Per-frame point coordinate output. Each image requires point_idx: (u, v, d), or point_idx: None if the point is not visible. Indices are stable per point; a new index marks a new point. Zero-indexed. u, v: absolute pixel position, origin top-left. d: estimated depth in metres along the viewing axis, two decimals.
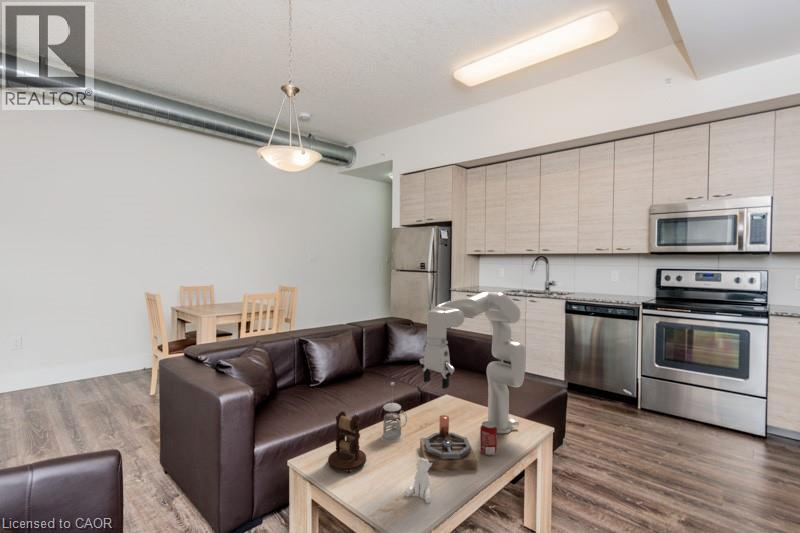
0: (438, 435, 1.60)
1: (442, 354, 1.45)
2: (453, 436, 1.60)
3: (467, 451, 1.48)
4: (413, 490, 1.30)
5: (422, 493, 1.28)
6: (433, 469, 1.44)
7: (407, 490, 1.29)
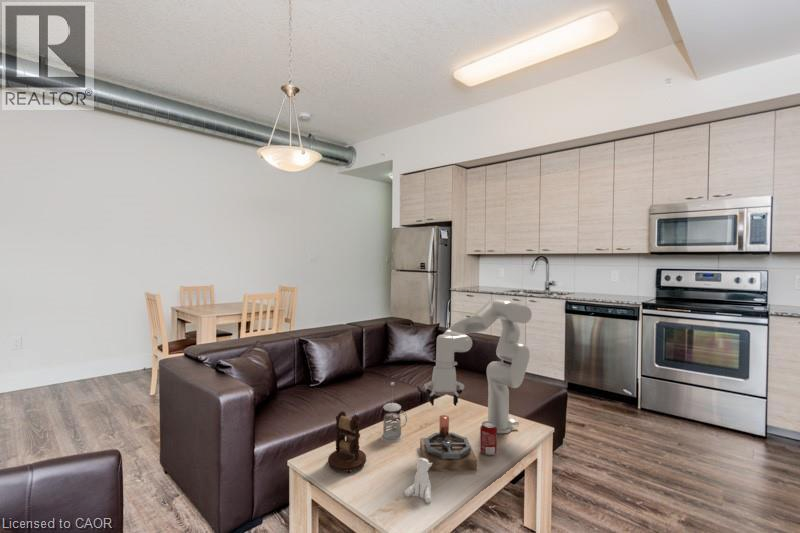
0: (438, 435, 1.60)
1: (455, 375, 1.59)
2: (453, 436, 1.60)
3: (467, 451, 1.48)
4: (413, 490, 1.30)
5: (422, 493, 1.28)
6: (433, 469, 1.44)
7: (407, 490, 1.29)
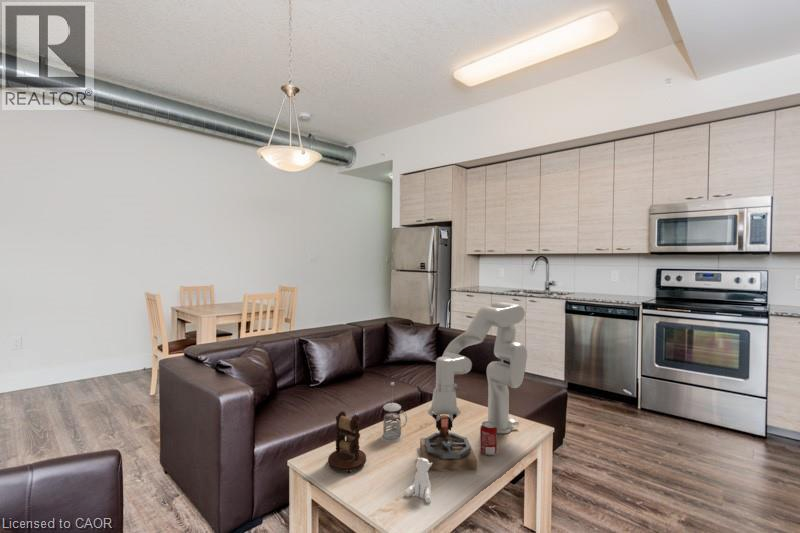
0: (438, 435, 1.60)
1: (455, 397, 1.59)
2: (453, 436, 1.60)
3: (467, 451, 1.48)
4: (413, 490, 1.30)
5: (422, 493, 1.28)
6: (433, 469, 1.44)
7: (407, 490, 1.29)
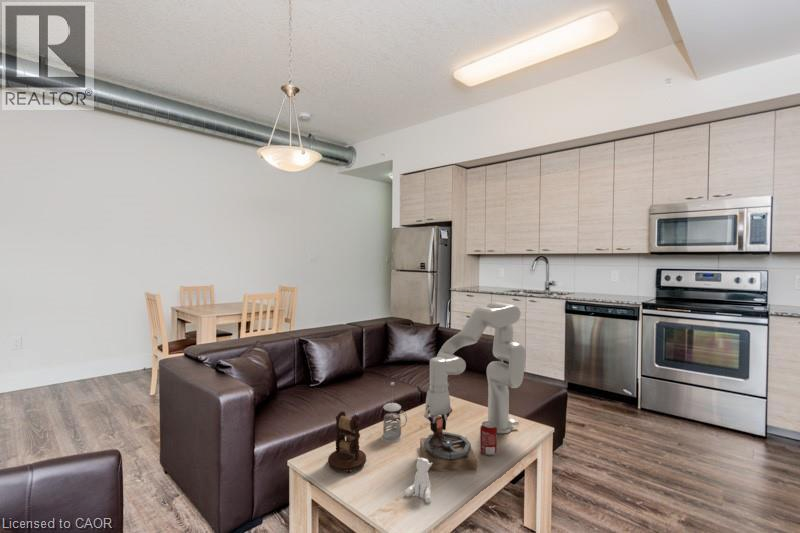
0: (433, 437, 1.59)
1: (449, 396, 1.61)
2: (447, 435, 1.61)
3: (469, 447, 1.51)
4: (413, 490, 1.30)
5: (422, 493, 1.28)
6: (433, 469, 1.44)
7: (407, 490, 1.29)
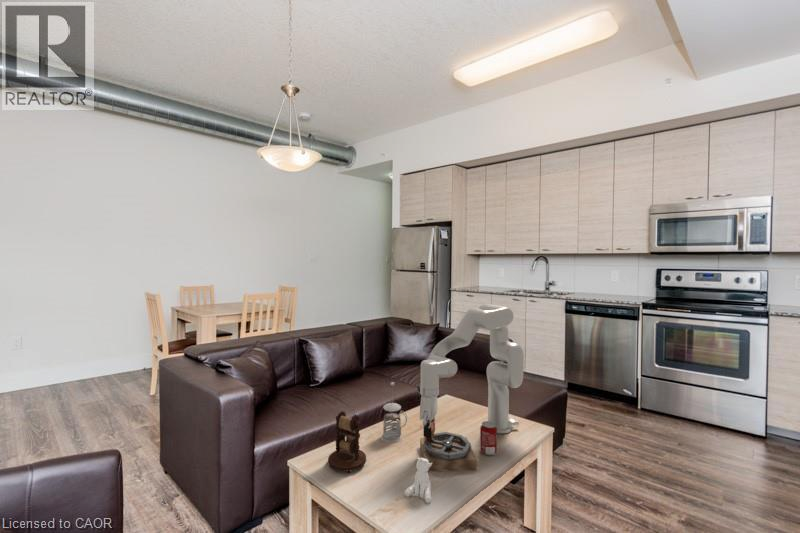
0: (428, 442, 1.54)
1: None
2: (435, 436, 1.60)
3: None
4: (413, 490, 1.30)
5: (422, 493, 1.28)
6: (433, 469, 1.44)
7: (407, 490, 1.29)
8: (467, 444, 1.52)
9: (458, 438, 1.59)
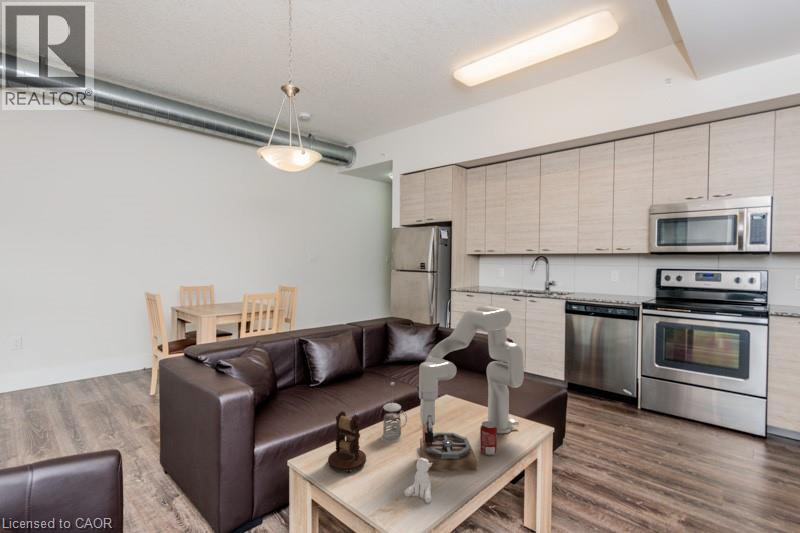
0: (430, 446, 1.51)
1: None
2: None
3: None
4: (413, 490, 1.30)
5: (422, 493, 1.28)
6: (433, 469, 1.44)
7: (407, 490, 1.29)
8: (465, 440, 1.56)
9: (451, 436, 1.61)
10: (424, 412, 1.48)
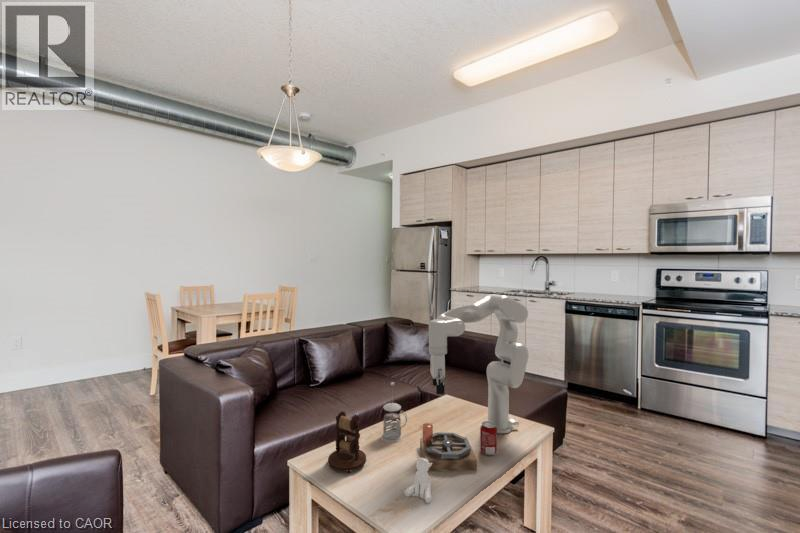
0: (430, 446, 1.51)
1: None
2: None
3: None
4: (413, 490, 1.30)
5: (422, 493, 1.28)
6: (433, 469, 1.44)
7: (407, 490, 1.29)
8: (465, 440, 1.56)
9: (451, 436, 1.61)
10: (435, 366, 1.54)
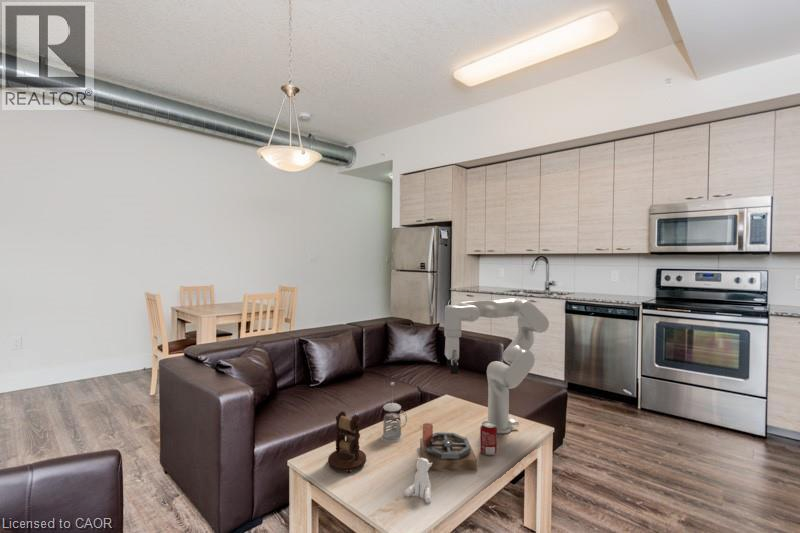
0: (430, 446, 1.51)
1: None
2: None
3: None
4: (413, 490, 1.30)
5: (422, 493, 1.28)
6: (433, 469, 1.44)
7: (407, 490, 1.29)
8: (465, 440, 1.56)
9: (451, 436, 1.61)
10: (450, 347, 1.66)
